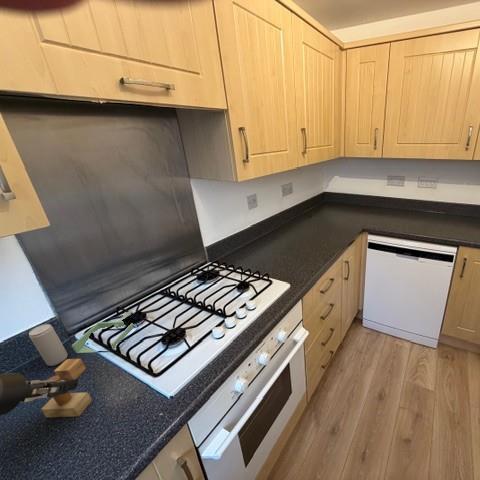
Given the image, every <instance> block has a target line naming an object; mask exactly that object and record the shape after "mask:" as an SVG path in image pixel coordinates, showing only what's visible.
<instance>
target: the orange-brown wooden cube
mask: <svg viewBox="0 0 480 480" xmlns="http://www.w3.org/2000/svg"><path fill="white" fill-rule="evenodd" d="M86 370H87V367H86V365H85V364H84V362H83V360H82V358H66V360H65V361H63V362H62V363H60V365H59V366H58V367H56V368H55V370H53V372H54V373H55V376H59V377H60V378H61V380H64V381H66V380H74V379H78V378H79V377H80V376H81V375H82V374H83V373H84V372H85V371H86Z"/></svg>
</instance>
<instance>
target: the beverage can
mask: <svg viewBox="0 0 480 480" xmlns="http://www.w3.org/2000/svg"><path fill="white" fill-rule="evenodd" d="M28 337H29V339H30V341H31V342H32V344H33V345H34V347H35V348H36V350H37V351H38V353H39V354H40V356H41V358H42V359H43V361H44V363H45V364H46V365H47V366H49V367H54V366H57V365H59V364H60V365H61V364H62V363H63V362H64V361H66V360H67V359H68V355H69V354H68V351H67V350H66V349H65V346H64V345H63V342H62V341H61V339H60V338H59V335H58V334H57V332H56V330H55V329H54V327H53V326H52V325H51V324H50V323H45V324H42V325H41V324H40V325H39V326H36V327H35V328H33V329H31V330H30V331H29V332H28Z"/></svg>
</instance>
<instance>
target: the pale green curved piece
mask: <svg viewBox="0 0 480 480" xmlns="http://www.w3.org/2000/svg"><path fill="white" fill-rule="evenodd" d="M131 313H133V314H134V311H133V310H129V311H127V312H126V313H125V314H124V315H123V316H122V317H120V319H118V321H100V322H97V323H95V324H94V325H93V326H92V327H91V328H90V329H89V330H87V332H85V333H84V334H83V335H82V336H80V338H78V339H77V340H75V342H74V343H72V344H71V347H72V349H73V351H74V353H75V354H95V353H98V352H96V351H94V350H92V349H90V348H88V347H86V346H85V343H86V341H87V340H88V338H89V336H90V334H91V333H93V332H95V331H97V330H98V329H100V328H105V327H109V326H112V325H114V326H115V327H116V328H118V327H121V326H124V322H123V321H122V320H123V319H125V318H126V317H127V316H129V315H130V314H131ZM133 325H134V324H133V323H131V324H130V325H129V326H128V327H127V328H126V329H125V331H124V332H123V333H122V334H121V335H120V336H119V337H118V338H117V339H116V340H115V341H114V342H113V343H112V346H113V348H115V346H116V344H117V343H118V342H120V341H121V340H122V339H123V338H124V337H125V336H126V335H127V334H128V333H129V332H130V331H131V330H132V329H133Z"/></svg>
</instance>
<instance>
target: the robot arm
mask: <svg viewBox="0 0 480 480" xmlns="http://www.w3.org/2000/svg"><path fill="white" fill-rule="evenodd" d="M44 383H46V384H47V385H45V384H44ZM78 384H79V379H78V378H77V379H74V380H66V381H64V380H61V381H55V380H48V379H44V380H40V379H33V380H32V379H31V380H27V379H26V378H25V376H24V375H22V374H20V373H18V372H6V373H0V417H1V416H4V415H6V414H8V413H10V412H12V411H13V410H15V408H17V406H19V404H21V403H28V402H32V401H34V400H39V399H45V398H53V397H52V396H57V395H60V394H65V393H68V391H69V392H70V391H74V390H76V389H77V387H78Z"/></svg>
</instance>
